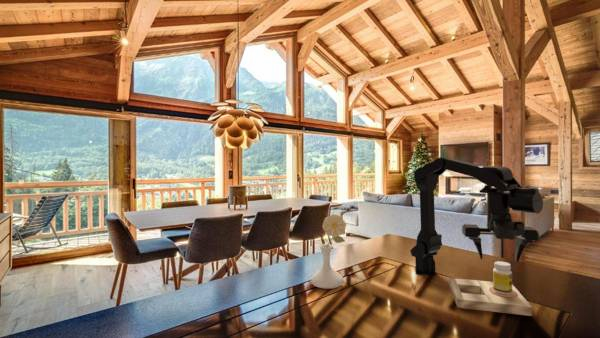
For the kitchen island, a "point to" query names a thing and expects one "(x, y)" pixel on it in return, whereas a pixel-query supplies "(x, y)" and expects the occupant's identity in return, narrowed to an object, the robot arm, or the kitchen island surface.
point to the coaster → (514, 294)
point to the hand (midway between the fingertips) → (498, 260)
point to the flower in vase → (326, 274)
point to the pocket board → (486, 298)
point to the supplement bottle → (502, 278)
